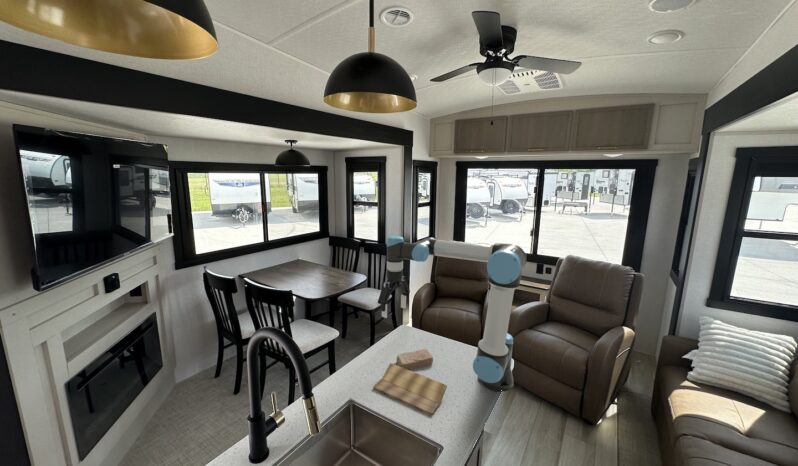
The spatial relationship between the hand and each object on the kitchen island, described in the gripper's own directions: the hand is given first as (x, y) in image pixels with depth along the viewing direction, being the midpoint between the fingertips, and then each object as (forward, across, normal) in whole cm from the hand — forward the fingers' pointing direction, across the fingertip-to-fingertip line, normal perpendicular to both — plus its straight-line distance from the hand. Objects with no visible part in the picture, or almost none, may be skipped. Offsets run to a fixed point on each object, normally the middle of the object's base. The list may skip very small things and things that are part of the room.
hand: (394, 312), depth 147 cm
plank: (+25, +7, +18) cm, 32 cm away
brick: (+27, -7, +8) cm, 29 cm away
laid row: (+27, +15, +20) cm, 36 cm away
